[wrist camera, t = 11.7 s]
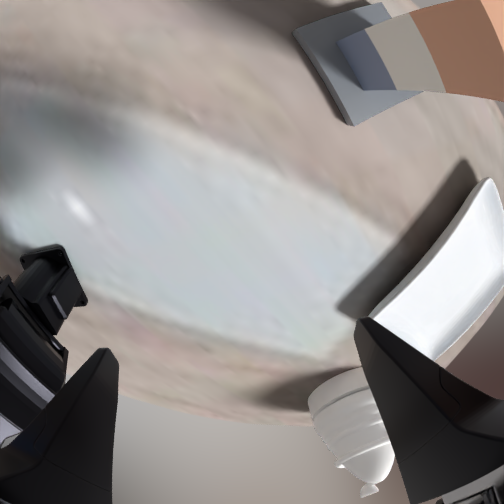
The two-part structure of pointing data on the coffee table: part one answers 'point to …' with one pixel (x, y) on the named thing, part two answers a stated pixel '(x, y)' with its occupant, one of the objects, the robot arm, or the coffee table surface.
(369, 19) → the baseplate
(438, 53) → the brick stack
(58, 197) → the coffee table surface
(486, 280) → the salad plate
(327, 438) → the honey pot
